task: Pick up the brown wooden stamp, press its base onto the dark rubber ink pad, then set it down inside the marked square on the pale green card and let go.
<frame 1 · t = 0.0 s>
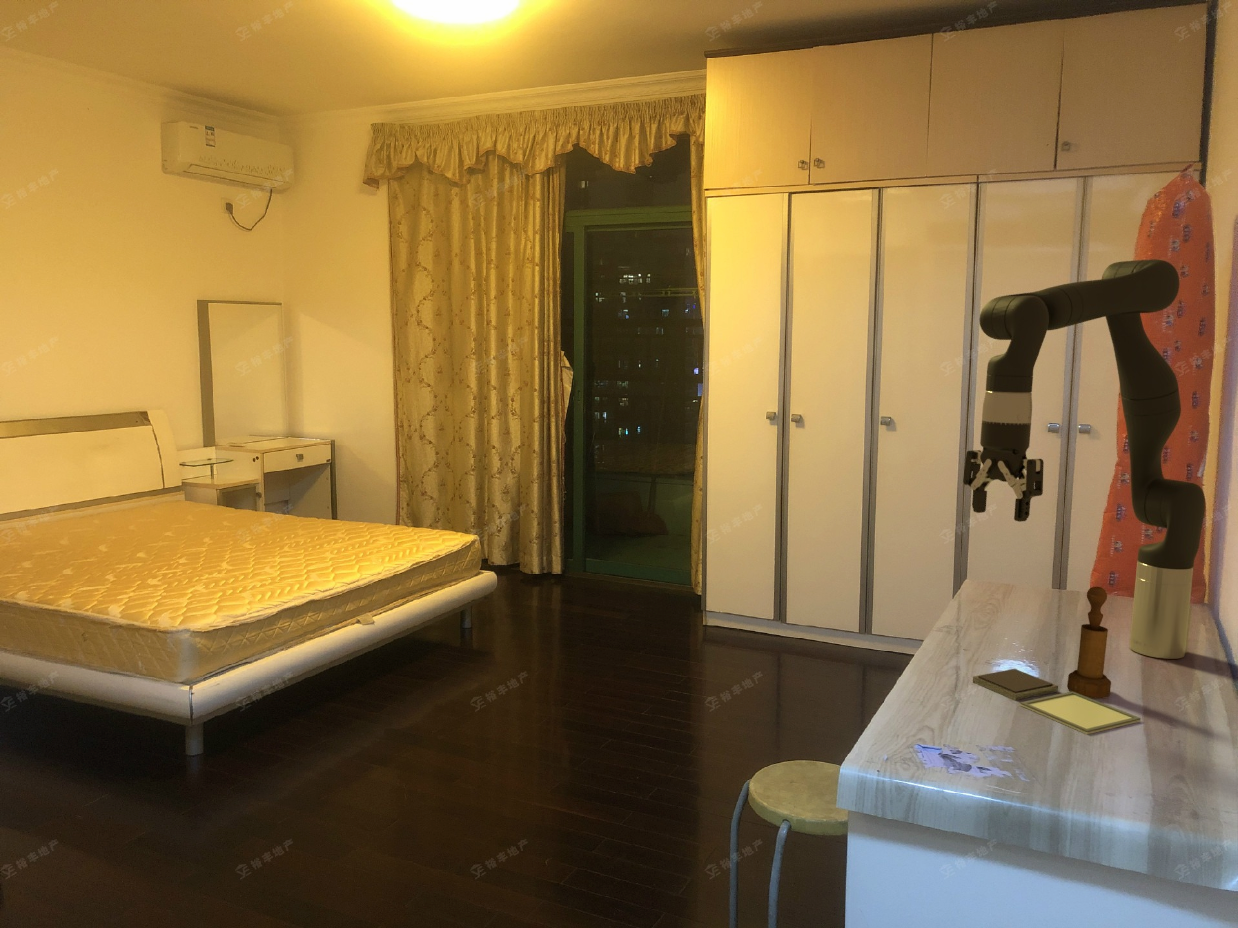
hand: (999, 516, 156), 29 cm above the table, fingers open, 8 cm apart
print card: (1079, 713, 148), on the table
ink pad: (1014, 686, 159), on the table
brown wooden stamp: (1088, 692, 158), on the table
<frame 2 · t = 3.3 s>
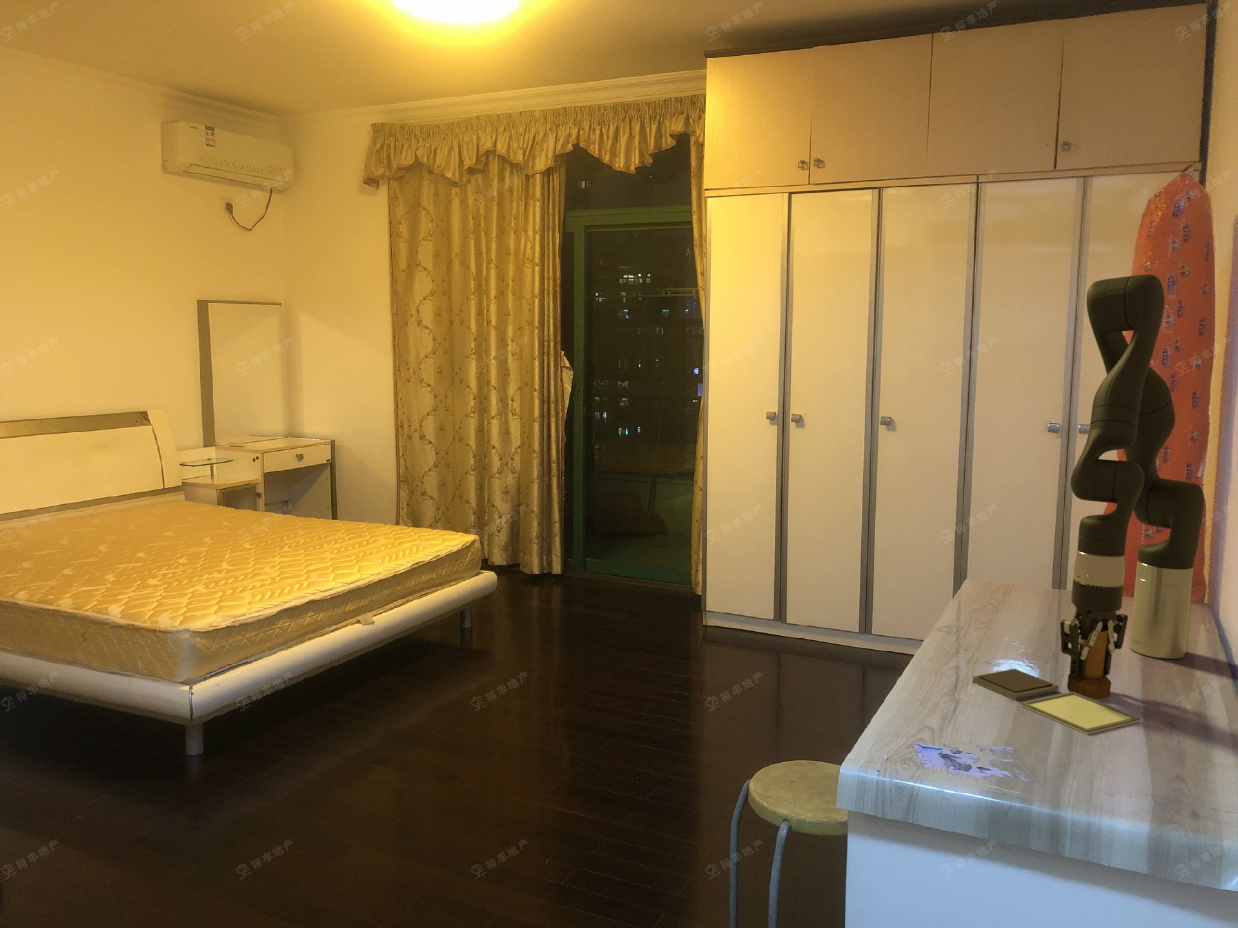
hand: (1089, 676, 158), 3 cm above the table, fingers closed on brown wooden stamp, 5 cm apart
brown wooden stamp: (1088, 692, 158), on the table, touching gripper
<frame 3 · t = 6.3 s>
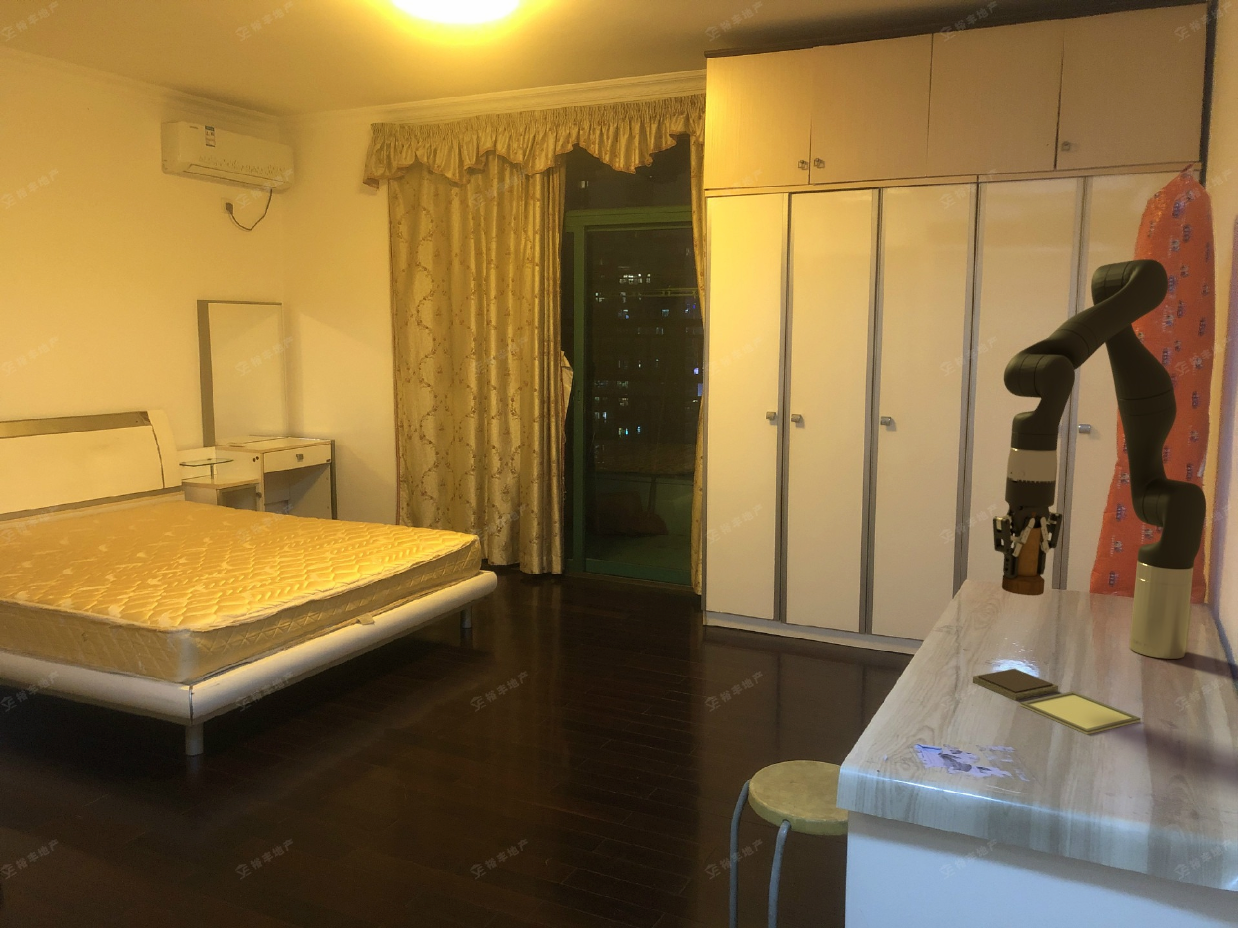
hand: (1023, 575, 157), 19 cm above the table, fingers closed on brown wooden stamp, 5 cm apart
brown wooden stamp: (1022, 591, 157), point 17 cm above the table, touching gripper
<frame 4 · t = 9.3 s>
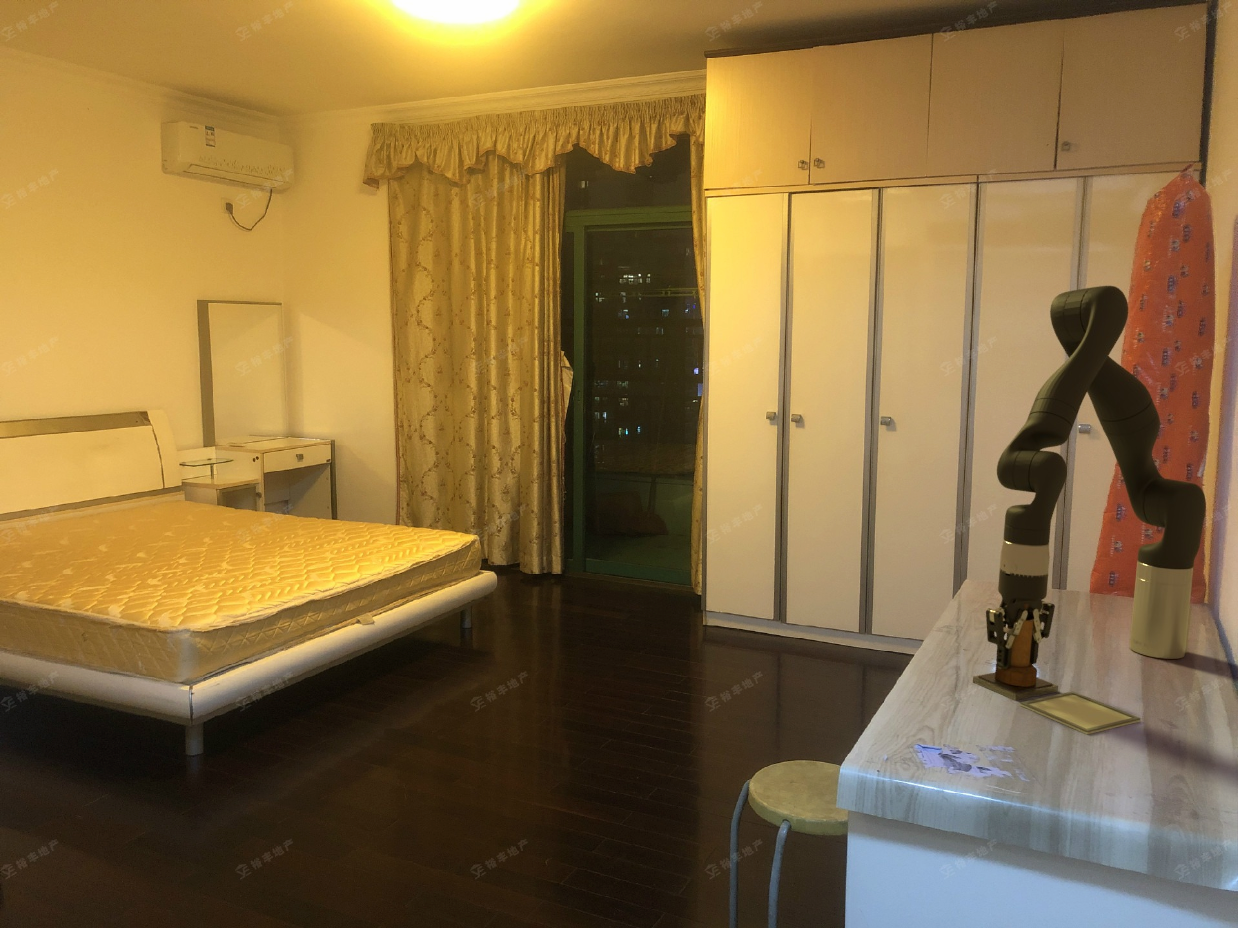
hand: (1016, 664, 159), 4 cm above the table, fingers closed on brown wooden stamp, 5 cm apart
brown wooden stamp: (1015, 680, 159), point 1 cm above the table, touching gripper, ink pad
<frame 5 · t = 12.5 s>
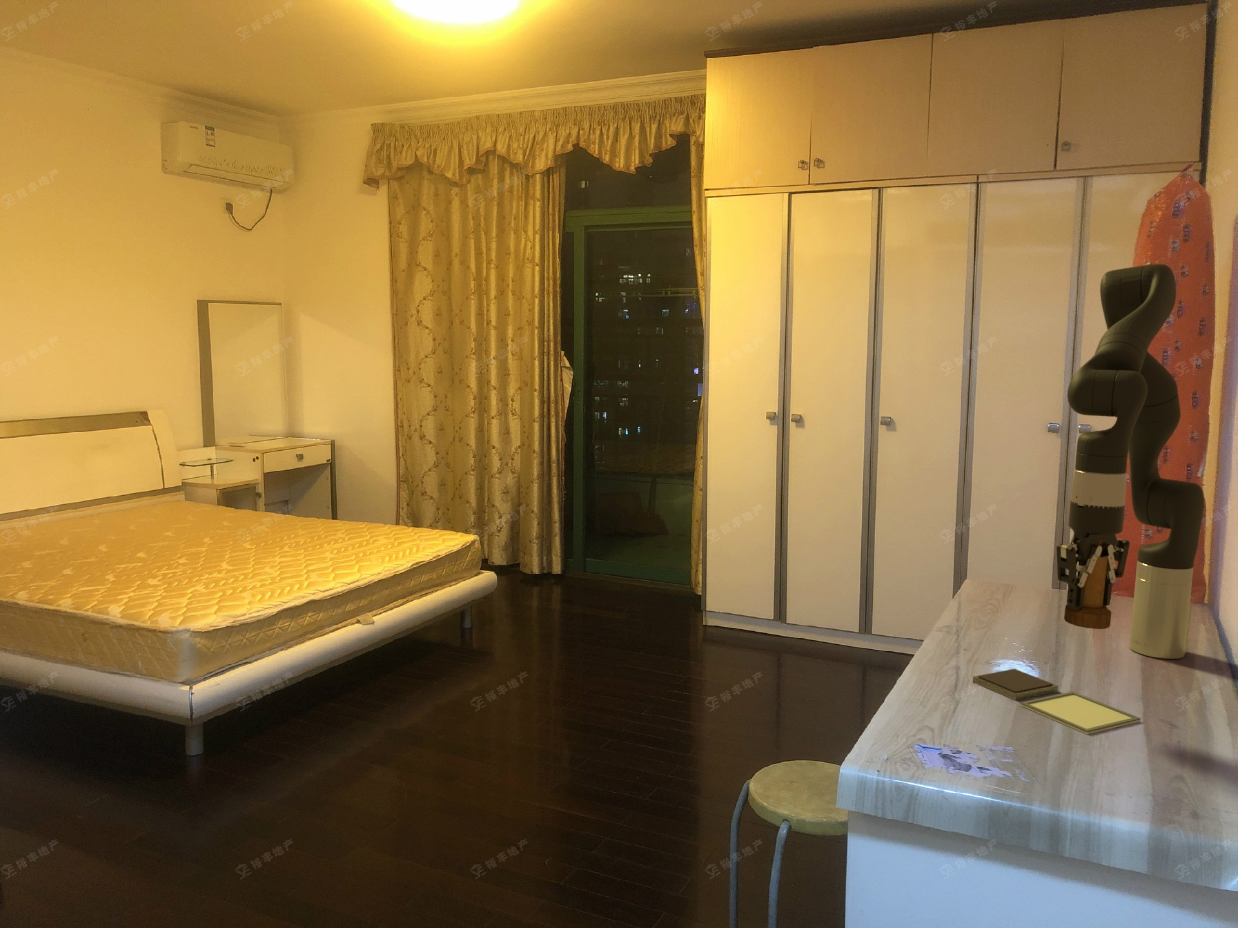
hand: (1088, 606, 146), 17 cm above the table, fingers closed on brown wooden stamp, 5 cm apart
brown wooden stamp: (1086, 624, 146), point 15 cm above the table, touching gripper
when the fingers open (4 cm above the table, at t = 15.3 s): brown wooden stamp stays where it is, resting on print card.
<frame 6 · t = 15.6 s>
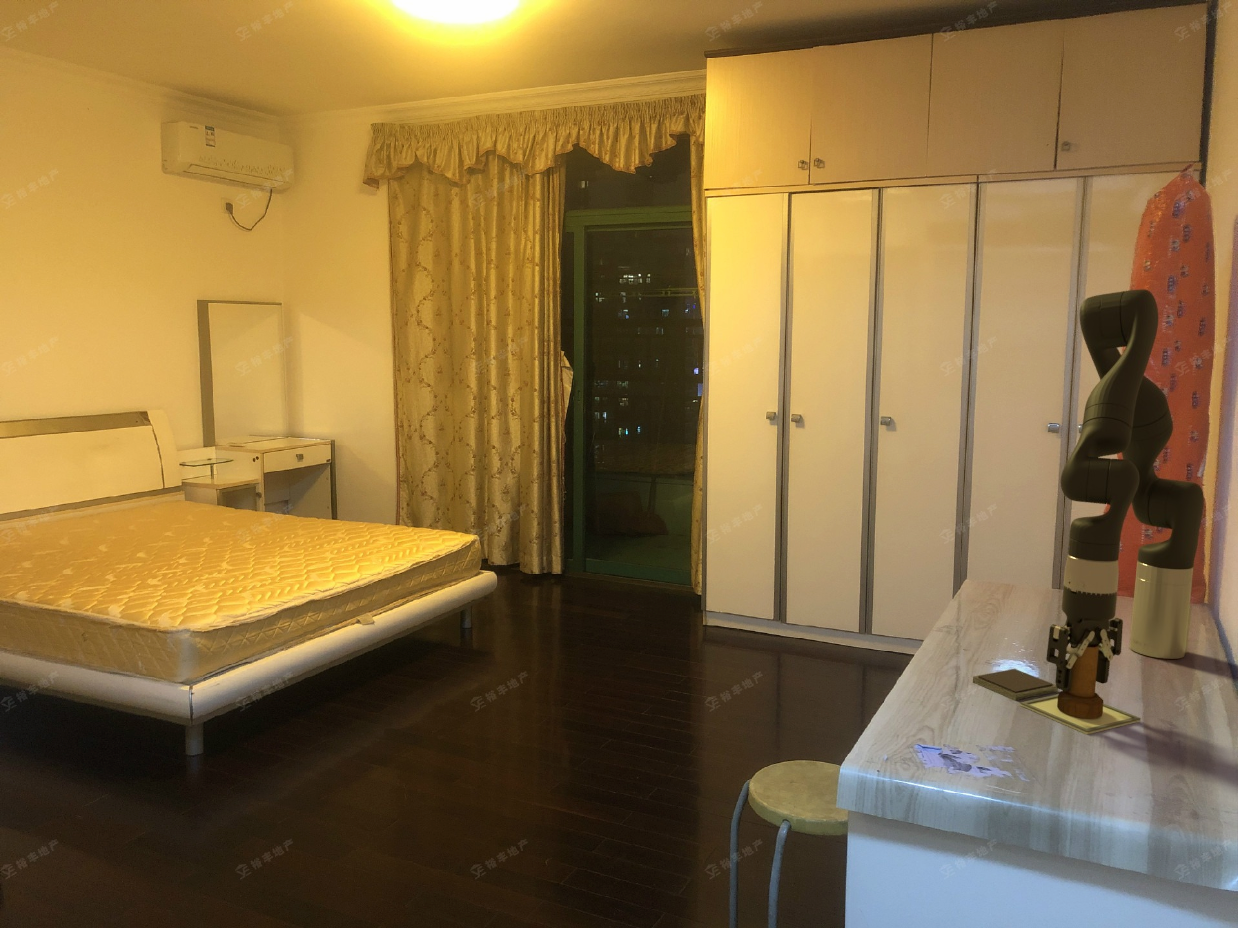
hand: (1081, 685, 148), 5 cm above the table, fingers open, 8 cm apart
brown wooden stamp: (1079, 712, 148), resting on print card
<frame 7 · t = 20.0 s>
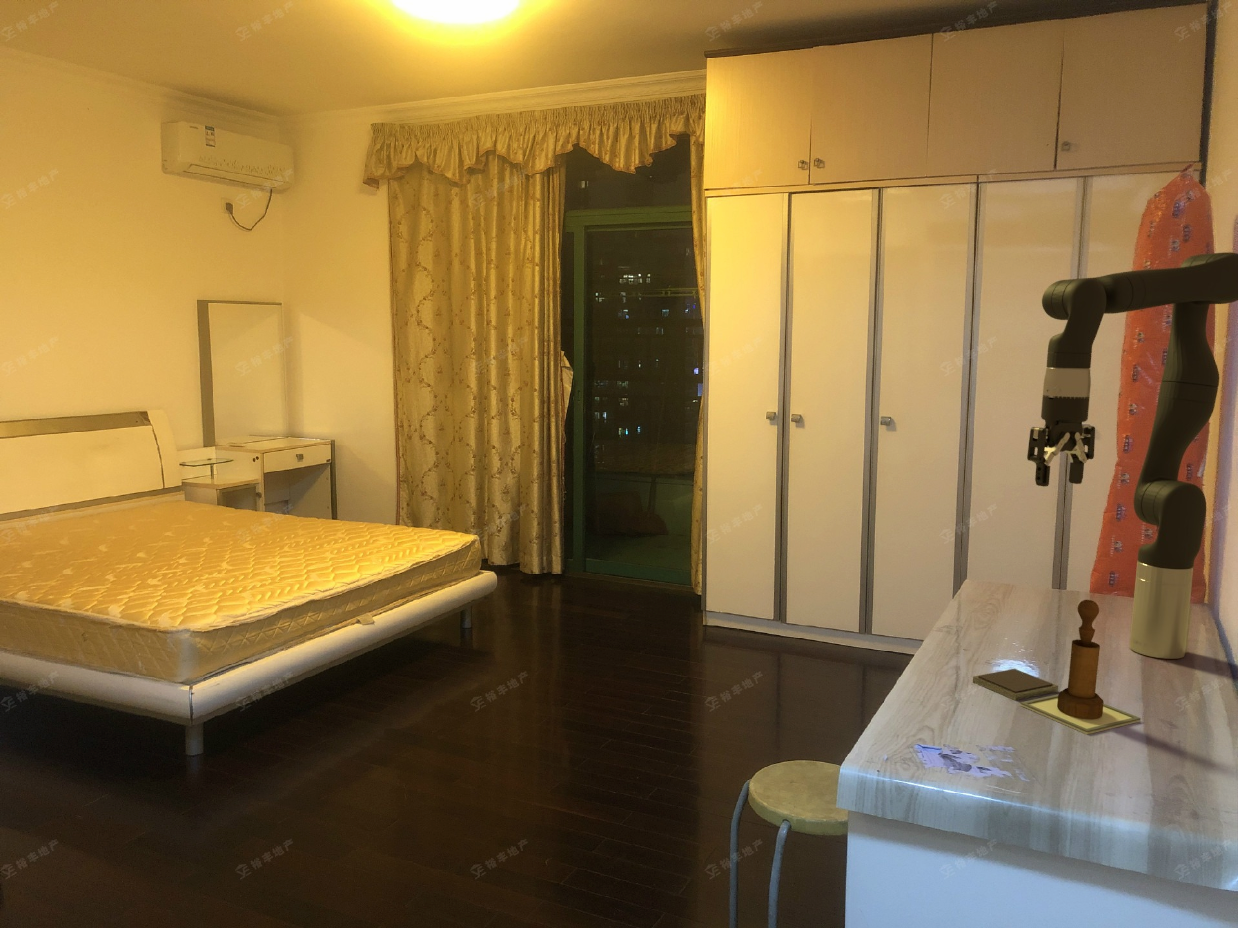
hand: (1058, 484, 167), 33 cm above the table, fingers open, 8 cm apart
nothing on the table moved.
at the end: brown wooden stamp inside the target area on the print card (0.1 cm from its centre), point 0.1 cm above the print card's base; brown wooden stamp tilted 0°; the gripper is holding nothing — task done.
